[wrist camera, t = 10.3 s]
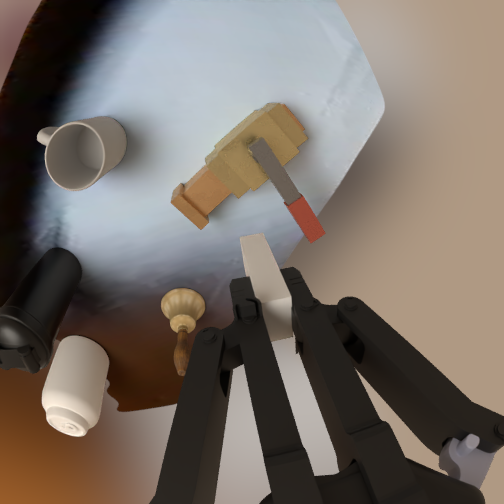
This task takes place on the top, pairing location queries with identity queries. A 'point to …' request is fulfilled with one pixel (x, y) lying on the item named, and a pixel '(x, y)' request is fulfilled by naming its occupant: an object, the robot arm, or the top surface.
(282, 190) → the lever
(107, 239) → the top surface
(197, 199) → the valve
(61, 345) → the white lidded jar
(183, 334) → the hand bell
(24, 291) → the water bottle
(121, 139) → the mug
